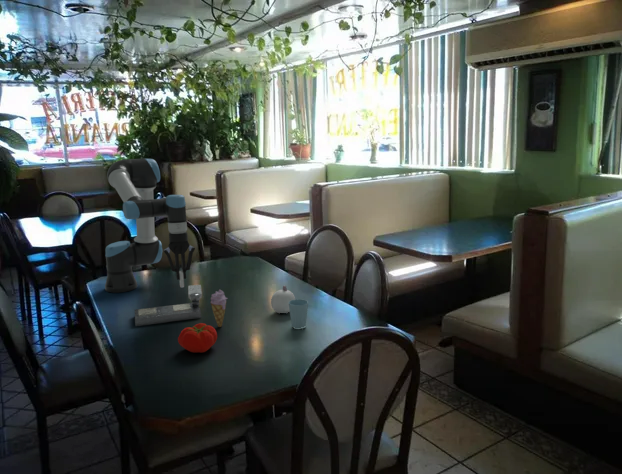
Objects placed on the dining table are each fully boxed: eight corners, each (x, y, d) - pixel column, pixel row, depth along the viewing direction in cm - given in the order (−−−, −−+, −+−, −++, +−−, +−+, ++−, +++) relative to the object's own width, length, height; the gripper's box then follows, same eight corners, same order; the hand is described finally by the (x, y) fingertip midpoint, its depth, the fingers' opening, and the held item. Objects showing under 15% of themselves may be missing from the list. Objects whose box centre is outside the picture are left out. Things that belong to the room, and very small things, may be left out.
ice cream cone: (231, 324, 202) (230, 289, 199) (224, 330, 196) (222, 293, 193) (217, 323, 204) (215, 287, 201) (209, 328, 198) (207, 292, 195)
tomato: (182, 361, 170) (181, 336, 168) (176, 347, 181) (175, 324, 180) (222, 353, 175) (221, 330, 174) (214, 340, 187) (213, 318, 185)
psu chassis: (135, 316, 213) (134, 304, 212) (198, 308, 222) (197, 297, 221) (135, 326, 202) (134, 313, 201) (202, 317, 210) (201, 305, 209)
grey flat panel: (200, 288, 232) (200, 283, 231) (202, 300, 215) (201, 295, 215) (188, 289, 230) (188, 284, 230) (188, 301, 214) (188, 296, 213)
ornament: (299, 310, 217) (298, 284, 215) (288, 318, 208) (287, 290, 206) (278, 307, 222) (277, 281, 219) (267, 315, 213) (266, 288, 210)
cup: (302, 332, 194) (302, 306, 192) (285, 329, 197) (285, 303, 195) (311, 325, 200) (311, 300, 198) (295, 322, 204) (294, 298, 202)
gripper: (162, 234, 203) (167, 290, 208) (195, 232, 208) (198, 286, 212) (160, 232, 210) (165, 286, 215) (192, 229, 215) (196, 282, 219)
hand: (182, 286), depth 213 cm, fingers closed
